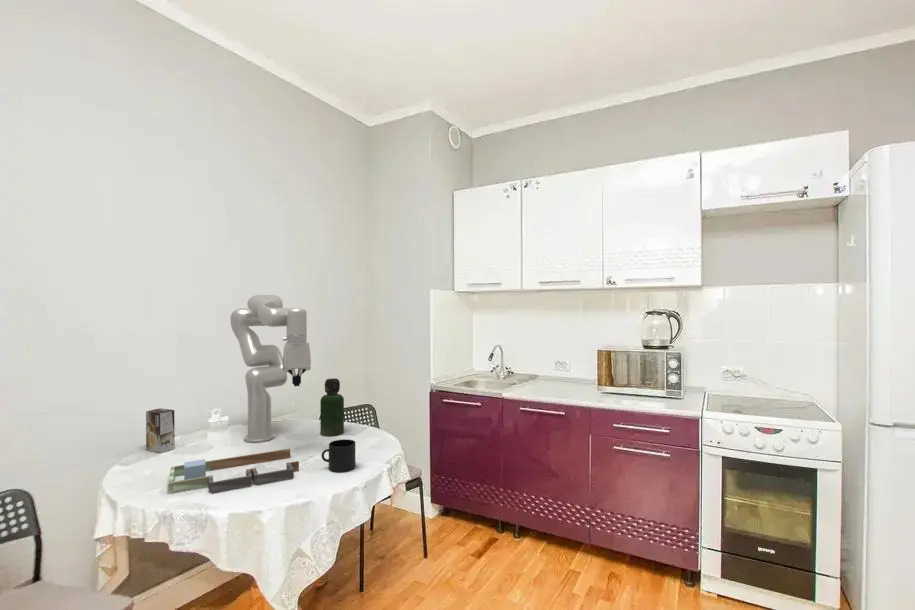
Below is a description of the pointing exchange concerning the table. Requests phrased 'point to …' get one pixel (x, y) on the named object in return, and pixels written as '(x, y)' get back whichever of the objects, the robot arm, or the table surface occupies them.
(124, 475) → the table surface
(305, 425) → the table surface
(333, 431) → the green bottle
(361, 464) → the table surface
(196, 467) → the block
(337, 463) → the mug
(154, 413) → the coffee box
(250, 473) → the trap box
